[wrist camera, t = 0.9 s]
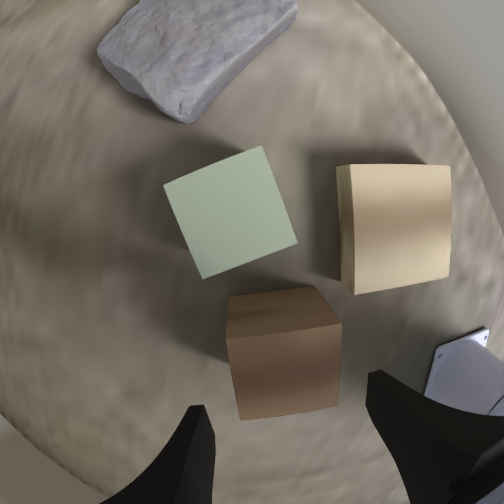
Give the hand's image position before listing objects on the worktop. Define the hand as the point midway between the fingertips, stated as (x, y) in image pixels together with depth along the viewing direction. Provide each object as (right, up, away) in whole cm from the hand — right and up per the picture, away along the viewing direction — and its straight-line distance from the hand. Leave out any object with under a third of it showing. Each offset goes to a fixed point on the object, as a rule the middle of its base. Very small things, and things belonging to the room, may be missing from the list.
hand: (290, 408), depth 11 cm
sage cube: (-3, +10, +8) cm, 13 cm away
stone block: (-6, +22, +5) cm, 23 cm away
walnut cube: (0, +1, +10) cm, 10 cm away
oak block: (+8, +9, +9) cm, 15 cm away
